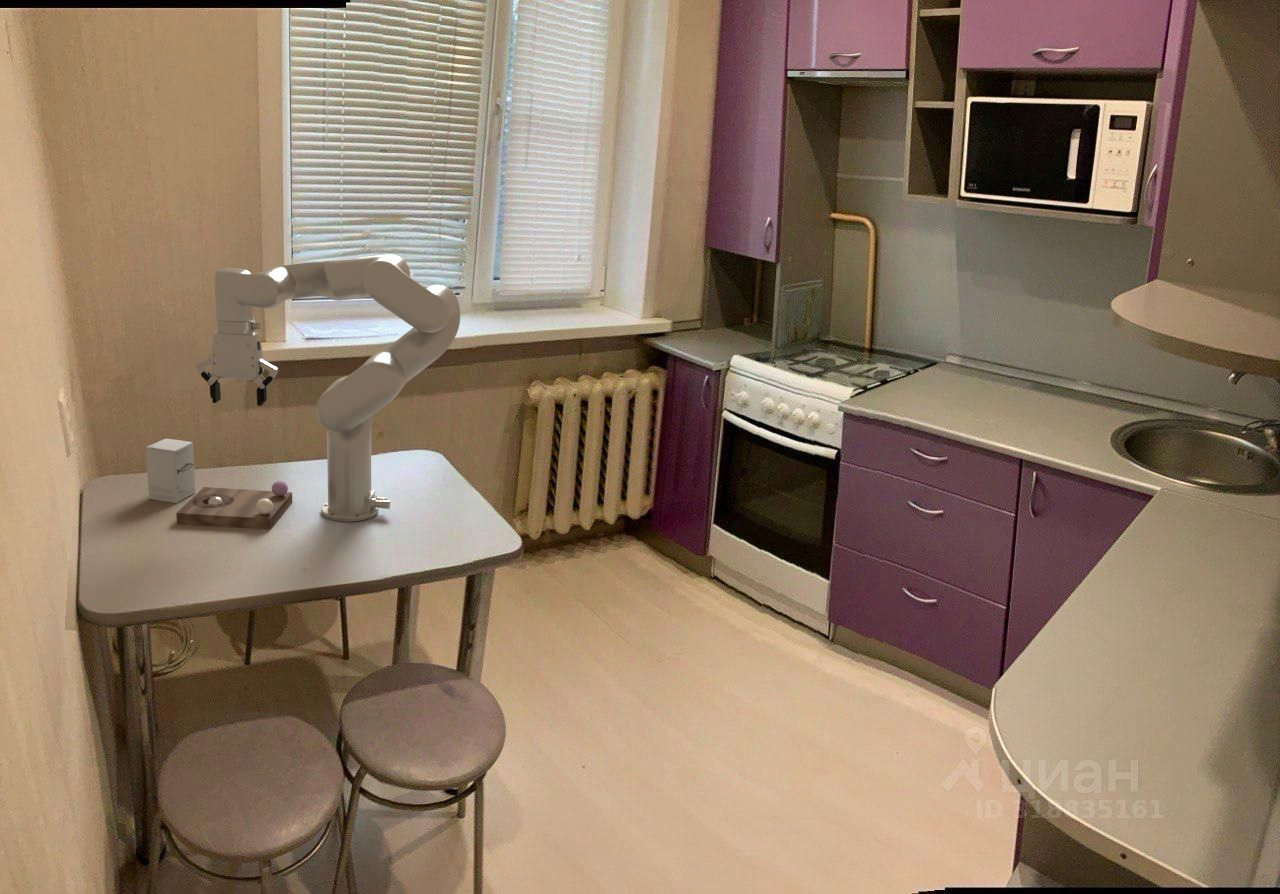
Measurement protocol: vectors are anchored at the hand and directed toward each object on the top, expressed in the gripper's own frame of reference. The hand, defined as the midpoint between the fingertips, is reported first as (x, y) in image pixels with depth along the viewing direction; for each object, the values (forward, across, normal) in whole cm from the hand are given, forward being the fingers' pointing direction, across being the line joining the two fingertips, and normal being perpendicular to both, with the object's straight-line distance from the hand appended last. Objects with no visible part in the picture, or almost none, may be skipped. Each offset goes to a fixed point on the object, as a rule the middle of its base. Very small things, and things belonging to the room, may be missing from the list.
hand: (238, 402), depth 229 cm
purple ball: (+20, -8, -1) cm, 22 cm away
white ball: (+20, -8, +10) cm, 24 cm away
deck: (+24, 0, +4) cm, 25 cm away
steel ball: (+23, +5, +4) cm, 23 cm away
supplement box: (+24, +17, -3) cm, 30 cm away
